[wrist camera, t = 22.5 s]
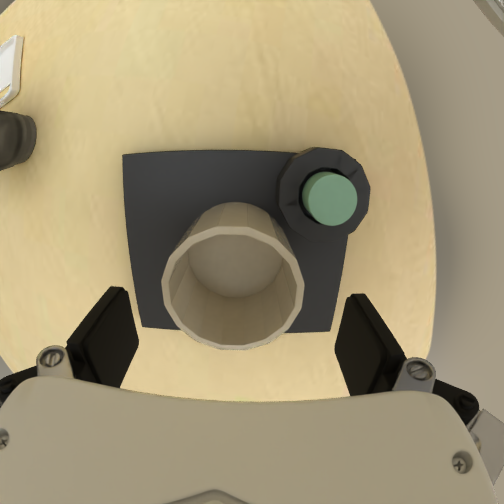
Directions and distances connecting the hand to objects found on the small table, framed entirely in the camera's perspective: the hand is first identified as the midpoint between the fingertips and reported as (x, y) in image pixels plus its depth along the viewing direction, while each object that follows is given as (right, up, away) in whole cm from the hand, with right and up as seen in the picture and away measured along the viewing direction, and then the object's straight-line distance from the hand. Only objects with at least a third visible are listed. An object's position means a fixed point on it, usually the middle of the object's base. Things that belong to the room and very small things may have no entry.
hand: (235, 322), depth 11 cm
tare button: (+5, +6, +5) cm, 10 cm away
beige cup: (0, +3, +8) cm, 9 cm away
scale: (0, +3, +9) cm, 10 cm away
